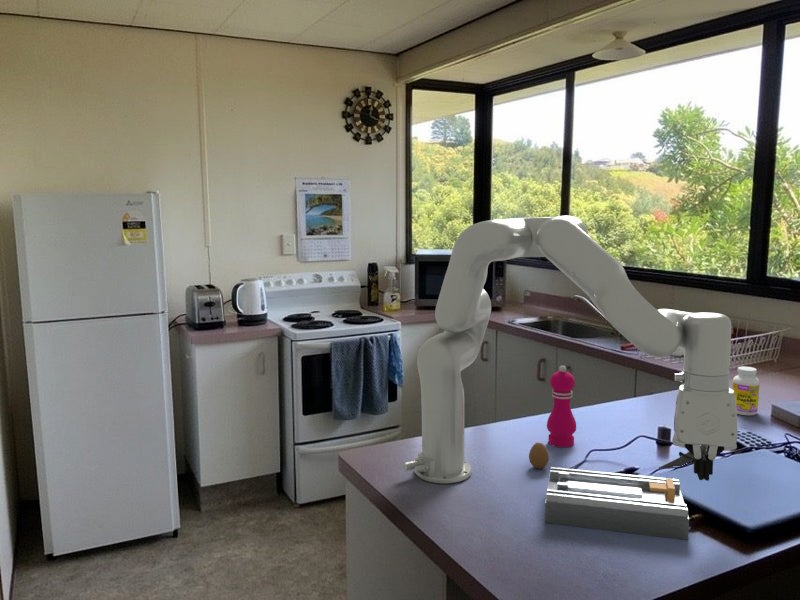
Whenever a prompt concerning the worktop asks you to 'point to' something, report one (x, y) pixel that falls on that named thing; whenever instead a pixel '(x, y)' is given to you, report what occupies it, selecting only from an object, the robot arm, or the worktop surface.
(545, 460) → the egg
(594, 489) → the light grey bar
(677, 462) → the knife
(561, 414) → the pepper mill
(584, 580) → the worktop surface
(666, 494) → the latch
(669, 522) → the grey ridged tray
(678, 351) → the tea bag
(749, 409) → the supplement bottle
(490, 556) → the worktop surface
